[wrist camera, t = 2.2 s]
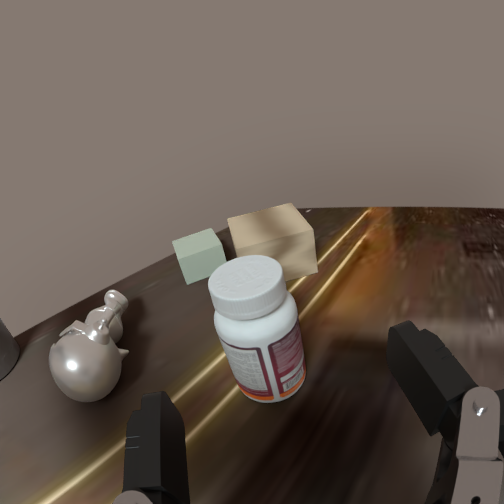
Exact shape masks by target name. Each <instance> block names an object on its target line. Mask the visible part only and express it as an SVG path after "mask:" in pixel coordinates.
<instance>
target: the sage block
mask: <svg viewBox="0 0 504 504" xmlns="http://www.w3.org/2000/svg"><path fill="white" fill-rule="evenodd" d="M172 243H173V245H174V249H175V252H176V255H177V258H178V261H179V264H180V267H181V269H182V272H183V275H184V278H185V280H186V283H187V285H188V284H190V283H193V282H196V281H199V280H201V279H204V278H207V277H210V276H211V274H212V273H213V272H214V271H215V270H216V269H217V268H218V267H219V266H221V265H223V264H224V263H226V262H227V261H226V258H225V254H224V250H223V247H222V244H221V242H220V241H219V239H218V238H217V236H216V235H215V233H214V232H213V230H212V229H211V228H210V229H207V230H204V231H201V232H198V233H195V234H192V235H189V236H187V237H183V238H181V239H178V240H175V241H172Z"/></svg>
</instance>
